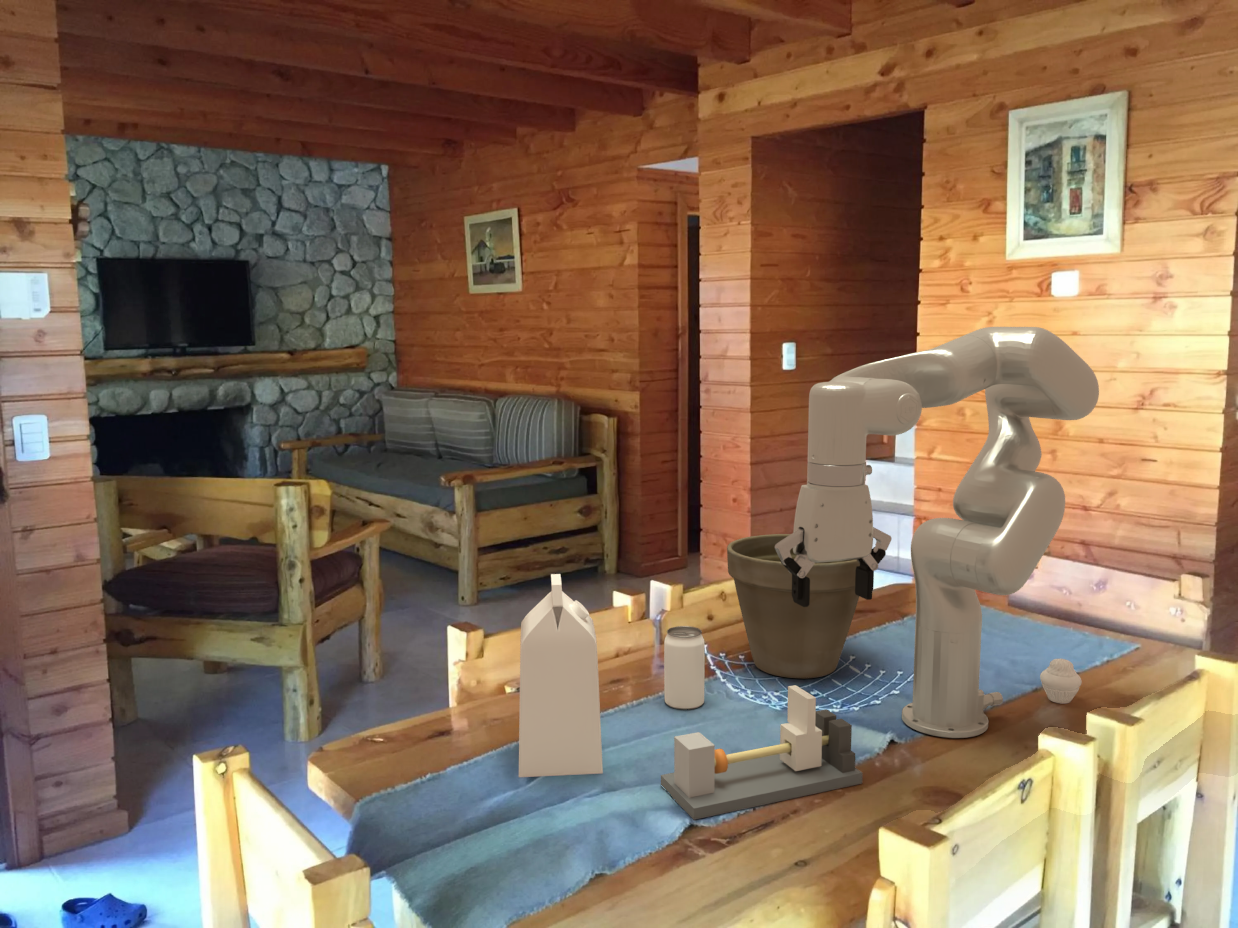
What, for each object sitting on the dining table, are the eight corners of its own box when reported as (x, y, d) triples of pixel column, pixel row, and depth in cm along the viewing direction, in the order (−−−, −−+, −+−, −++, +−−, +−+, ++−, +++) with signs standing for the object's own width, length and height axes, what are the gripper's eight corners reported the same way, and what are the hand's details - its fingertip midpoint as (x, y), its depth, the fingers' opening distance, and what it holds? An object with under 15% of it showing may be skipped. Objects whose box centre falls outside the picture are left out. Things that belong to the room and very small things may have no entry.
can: (701, 711, 160) (702, 638, 158) (661, 708, 161) (661, 636, 159) (706, 696, 166) (706, 626, 164) (667, 693, 167) (667, 624, 166)
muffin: (1086, 699, 163) (1088, 657, 162) (1072, 710, 159) (1075, 667, 158) (1047, 689, 168) (1049, 649, 166) (1032, 700, 163) (1035, 658, 162)
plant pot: (823, 636, 196) (825, 527, 193) (896, 679, 173) (900, 556, 170) (704, 651, 188) (704, 537, 185) (764, 698, 165) (765, 569, 162)
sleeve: (803, 752, 140) (804, 683, 138) (823, 767, 135) (824, 696, 134) (778, 757, 138) (779, 687, 137) (797, 772, 134) (798, 700, 132)
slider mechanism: (820, 753, 144) (821, 700, 143) (862, 783, 135) (863, 727, 134) (660, 785, 135) (660, 729, 134) (693, 819, 126) (693, 759, 125)
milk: (519, 740, 150) (515, 569, 146) (597, 737, 151) (594, 567, 147) (518, 777, 138) (513, 592, 134) (602, 773, 139) (600, 589, 135)
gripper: (875, 468, 140) (871, 587, 143) (764, 475, 135) (762, 599, 137) (908, 475, 133) (903, 601, 136) (792, 483, 128) (789, 614, 130)
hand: (832, 600), depth 136 cm, fingers open, 9 cm apart
